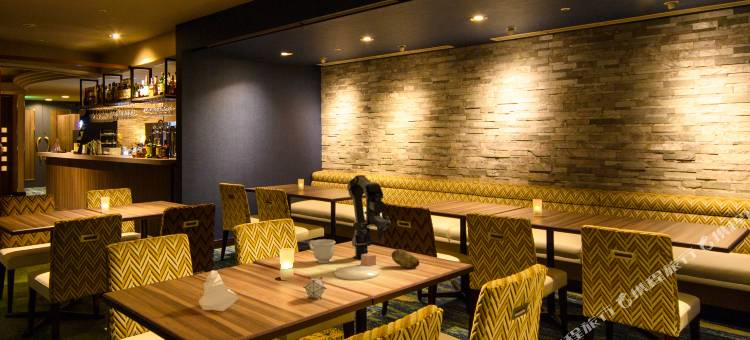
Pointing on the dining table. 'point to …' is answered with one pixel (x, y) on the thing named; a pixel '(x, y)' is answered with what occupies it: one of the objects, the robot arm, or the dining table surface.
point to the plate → (356, 272)
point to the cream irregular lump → (216, 294)
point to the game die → (314, 288)
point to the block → (368, 259)
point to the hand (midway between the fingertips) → (372, 242)
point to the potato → (405, 259)
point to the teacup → (322, 249)
